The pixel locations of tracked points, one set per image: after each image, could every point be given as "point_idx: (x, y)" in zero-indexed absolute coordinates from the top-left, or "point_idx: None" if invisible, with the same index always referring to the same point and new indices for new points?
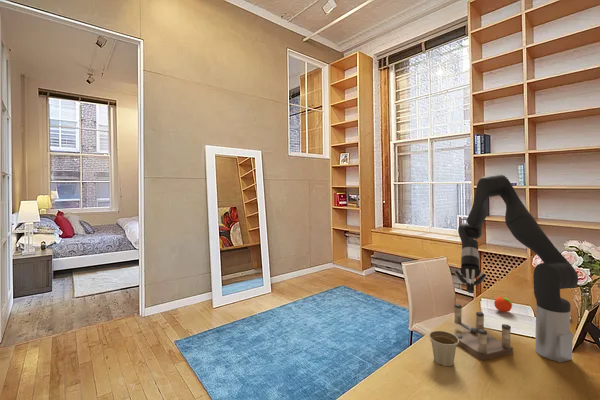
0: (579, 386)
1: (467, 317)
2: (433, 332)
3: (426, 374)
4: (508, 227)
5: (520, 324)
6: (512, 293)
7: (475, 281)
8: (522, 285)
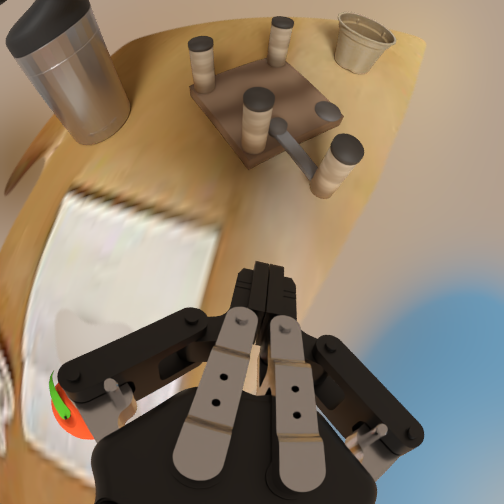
0: (134, 47)
1: None
2: (390, 44)
3: None
4: None
5: (75, 287)
6: None
7: (204, 338)
8: None
